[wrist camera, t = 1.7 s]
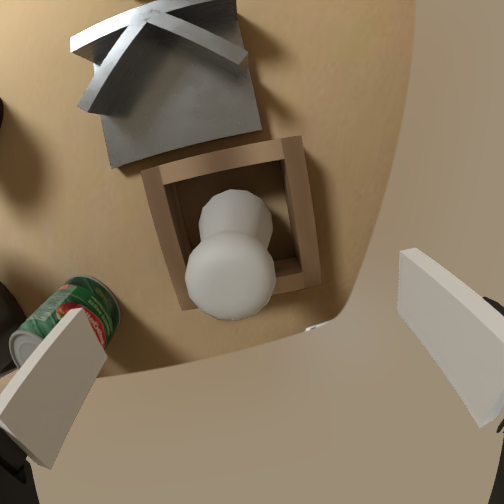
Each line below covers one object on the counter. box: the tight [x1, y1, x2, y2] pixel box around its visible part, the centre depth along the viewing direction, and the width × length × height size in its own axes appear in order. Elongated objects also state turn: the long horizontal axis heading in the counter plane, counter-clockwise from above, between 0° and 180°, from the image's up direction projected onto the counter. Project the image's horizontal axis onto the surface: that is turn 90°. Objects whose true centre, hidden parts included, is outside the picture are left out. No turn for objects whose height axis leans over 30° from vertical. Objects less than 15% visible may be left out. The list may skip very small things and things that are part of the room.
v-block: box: [71, 0, 262, 169], centre depth 18 cm, size 13×12×5 cm
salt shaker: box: [185, 189, 276, 321], centre depth 19 cm, size 6×6×13 cm
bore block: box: [141, 136, 322, 311], centre depth 23 cm, size 12×12×4 cm
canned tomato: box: [9, 275, 121, 369], centre depth 22 cm, size 8×8×11 cm
